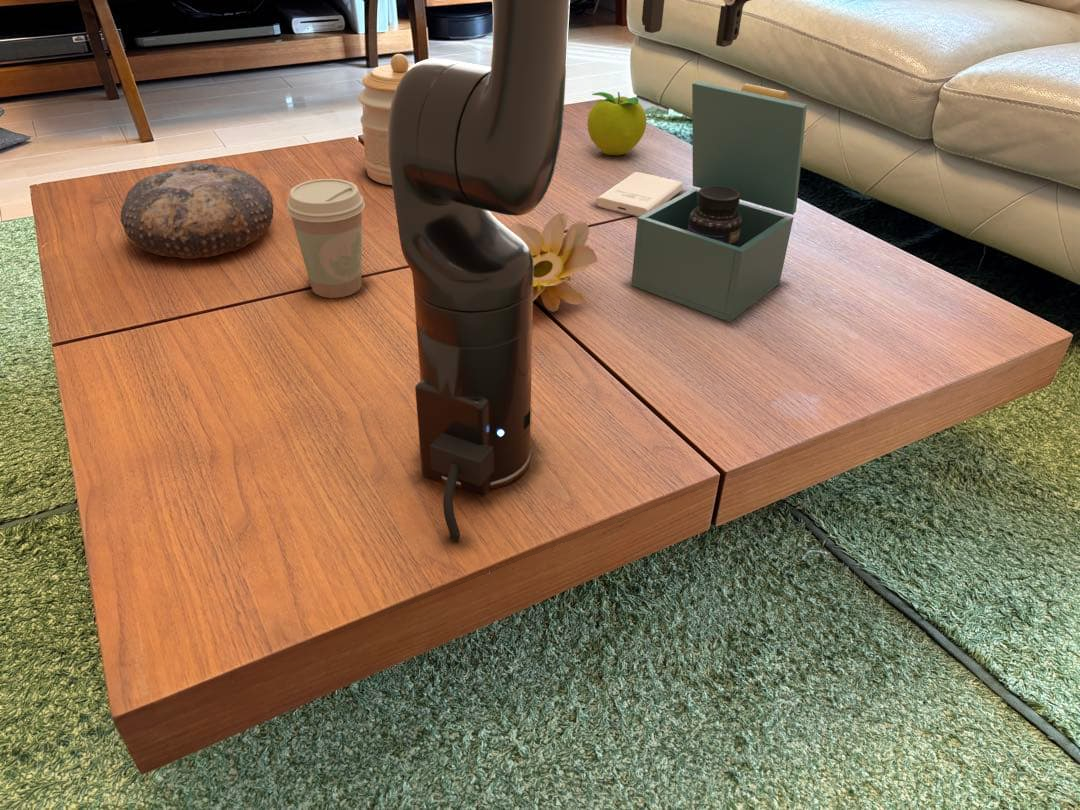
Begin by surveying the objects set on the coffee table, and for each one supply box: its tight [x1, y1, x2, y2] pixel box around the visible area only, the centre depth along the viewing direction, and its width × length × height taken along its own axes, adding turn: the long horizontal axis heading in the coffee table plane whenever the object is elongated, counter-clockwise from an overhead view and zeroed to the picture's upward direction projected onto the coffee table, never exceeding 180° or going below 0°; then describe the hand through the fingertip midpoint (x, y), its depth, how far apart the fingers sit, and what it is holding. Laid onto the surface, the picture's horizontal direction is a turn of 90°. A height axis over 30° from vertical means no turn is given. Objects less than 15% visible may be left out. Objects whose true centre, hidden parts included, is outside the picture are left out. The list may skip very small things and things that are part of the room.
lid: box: [691, 80, 808, 216], centre depth 97 cm, size 13×14×5 cm
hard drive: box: [596, 171, 684, 218], centre depth 124 cm, size 2×8×12 cm
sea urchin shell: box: [120, 162, 275, 259], centre depth 108 cm, size 19×19×10 cm
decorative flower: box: [509, 212, 598, 313], centre depth 97 cm, size 15×11×10 cm
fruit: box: [587, 91, 647, 157], centre depth 138 cm, size 9×9×10 cm
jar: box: [357, 53, 414, 186], centre depth 126 cm, size 13×13×18 cm
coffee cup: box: [286, 178, 366, 299], centre depth 96 cm, size 8×8×12 cm
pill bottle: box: [688, 185, 742, 247], centre depth 99 cm, size 6×6×11 cm
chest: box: [630, 187, 794, 323], centre depth 100 cm, size 13×14×9 cm
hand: (687, 38), depth 85 cm, fingers open, 8 cm apart
